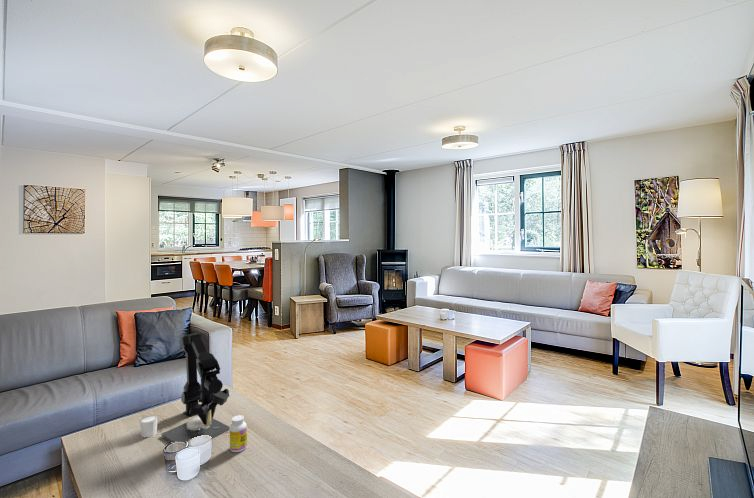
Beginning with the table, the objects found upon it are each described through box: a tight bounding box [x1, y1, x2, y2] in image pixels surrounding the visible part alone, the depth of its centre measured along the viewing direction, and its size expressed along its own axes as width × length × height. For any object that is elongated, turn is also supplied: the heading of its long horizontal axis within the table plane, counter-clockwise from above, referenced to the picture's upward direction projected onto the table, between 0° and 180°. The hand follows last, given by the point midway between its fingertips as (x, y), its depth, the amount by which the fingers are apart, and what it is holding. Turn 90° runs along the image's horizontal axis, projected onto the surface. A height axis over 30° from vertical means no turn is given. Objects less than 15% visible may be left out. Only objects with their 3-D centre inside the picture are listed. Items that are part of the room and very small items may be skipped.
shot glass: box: [139, 414, 158, 439], centre depth 162 cm, size 7×7×7 cm
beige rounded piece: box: [186, 410, 212, 430], centre depth 161 cm, size 12×7×8 cm, turn 70°
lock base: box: [161, 417, 230, 444], centre depth 162 cm, size 20×20×3 cm
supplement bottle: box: [228, 414, 248, 453], centre depth 150 cm, size 7×7×13 cm
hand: (208, 421), depth 161 cm, fingers open, 5 cm apart
